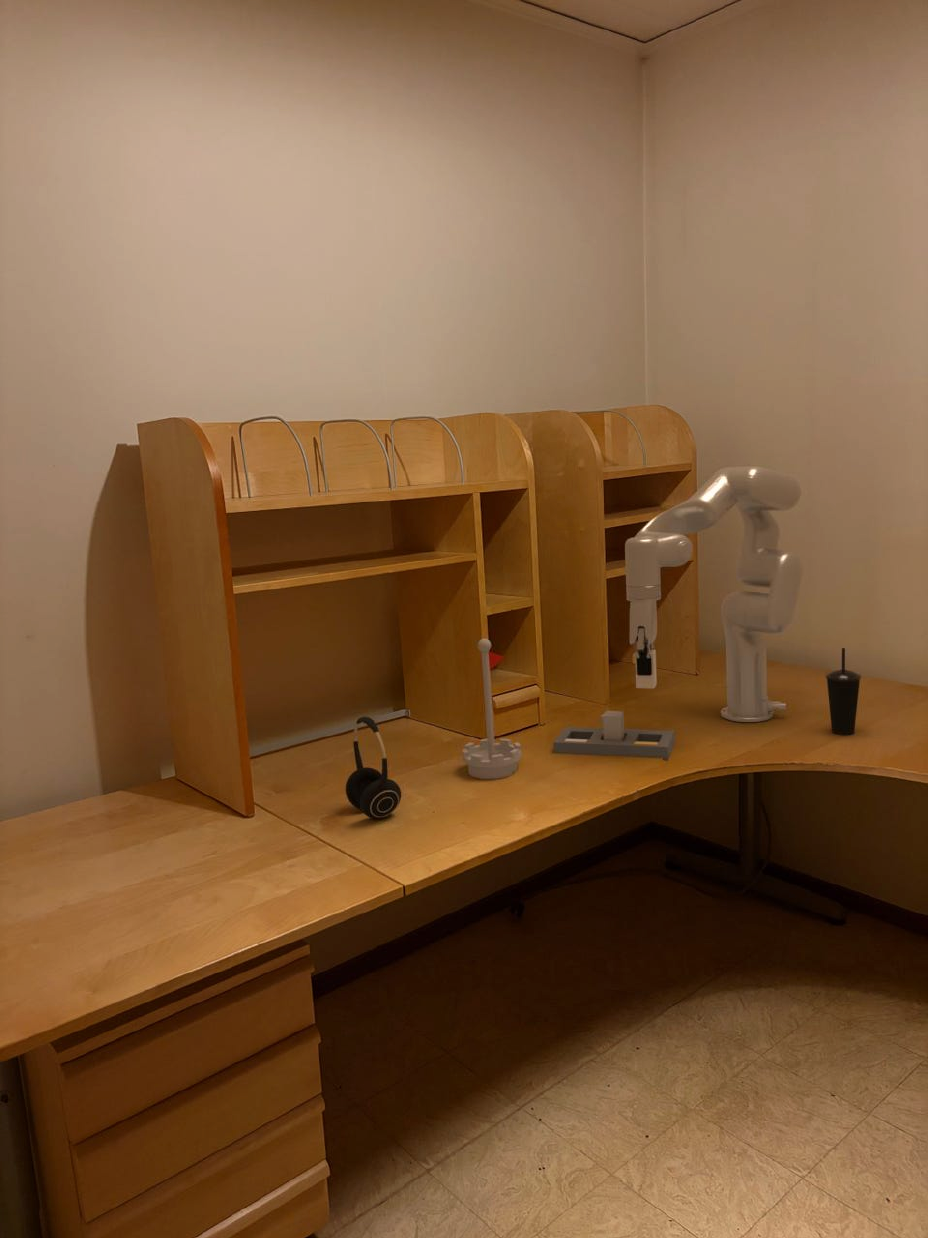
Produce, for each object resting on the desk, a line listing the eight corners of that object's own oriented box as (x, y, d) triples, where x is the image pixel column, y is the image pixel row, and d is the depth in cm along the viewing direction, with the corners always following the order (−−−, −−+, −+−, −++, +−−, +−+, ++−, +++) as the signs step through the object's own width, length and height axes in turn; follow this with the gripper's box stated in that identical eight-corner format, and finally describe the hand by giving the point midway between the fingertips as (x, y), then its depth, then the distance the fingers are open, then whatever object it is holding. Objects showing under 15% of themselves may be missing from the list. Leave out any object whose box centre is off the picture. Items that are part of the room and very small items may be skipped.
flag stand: (485, 785, 199) (476, 648, 194) (452, 770, 210) (443, 639, 205) (533, 770, 206) (526, 637, 201) (499, 756, 217) (491, 630, 212)
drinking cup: (854, 726, 220) (855, 644, 217) (865, 736, 213) (866, 651, 209) (821, 727, 221) (821, 645, 218) (830, 737, 214) (830, 652, 210)
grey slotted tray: (674, 743, 218) (673, 708, 216) (668, 760, 207) (666, 723, 205) (565, 738, 226) (564, 705, 225) (553, 754, 215) (552, 719, 214)
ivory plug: (656, 683, 212) (655, 649, 211) (654, 688, 208) (653, 653, 207) (635, 683, 214) (634, 649, 212) (633, 688, 210) (631, 653, 209)
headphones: (379, 797, 196) (371, 706, 192) (410, 819, 183) (402, 721, 180) (341, 807, 192) (332, 714, 188) (370, 830, 179) (361, 730, 176)
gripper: (632, 587, 216) (635, 664, 219) (620, 599, 201) (623, 681, 204) (665, 586, 214) (667, 664, 217) (655, 598, 198) (657, 682, 201)
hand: (646, 671), depth 210 cm, fingers closed on ivory plug, 4 cm apart
